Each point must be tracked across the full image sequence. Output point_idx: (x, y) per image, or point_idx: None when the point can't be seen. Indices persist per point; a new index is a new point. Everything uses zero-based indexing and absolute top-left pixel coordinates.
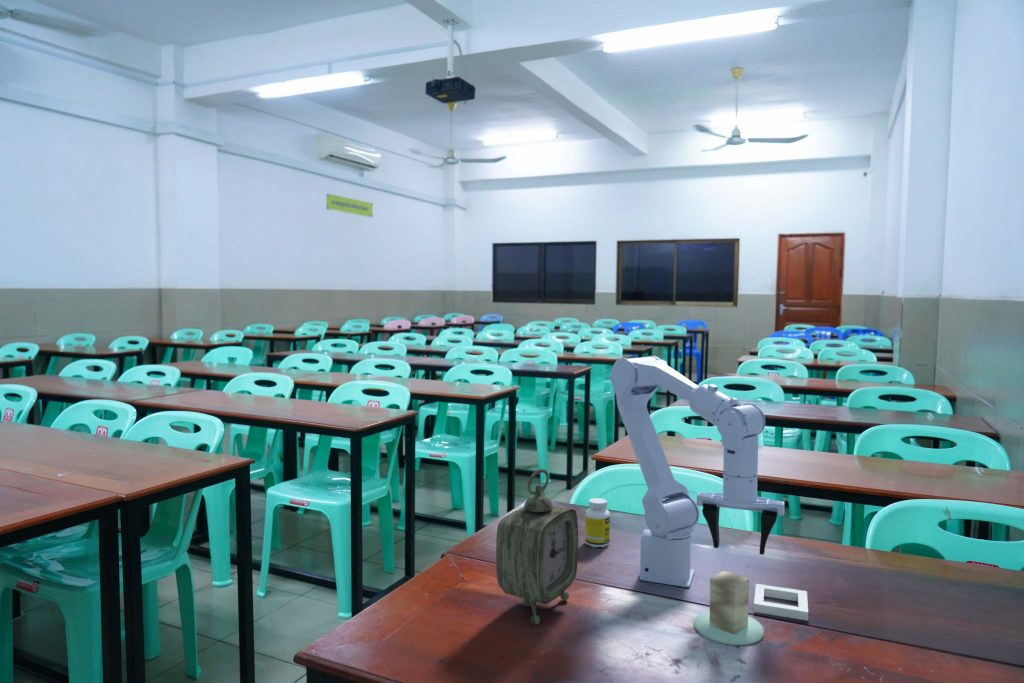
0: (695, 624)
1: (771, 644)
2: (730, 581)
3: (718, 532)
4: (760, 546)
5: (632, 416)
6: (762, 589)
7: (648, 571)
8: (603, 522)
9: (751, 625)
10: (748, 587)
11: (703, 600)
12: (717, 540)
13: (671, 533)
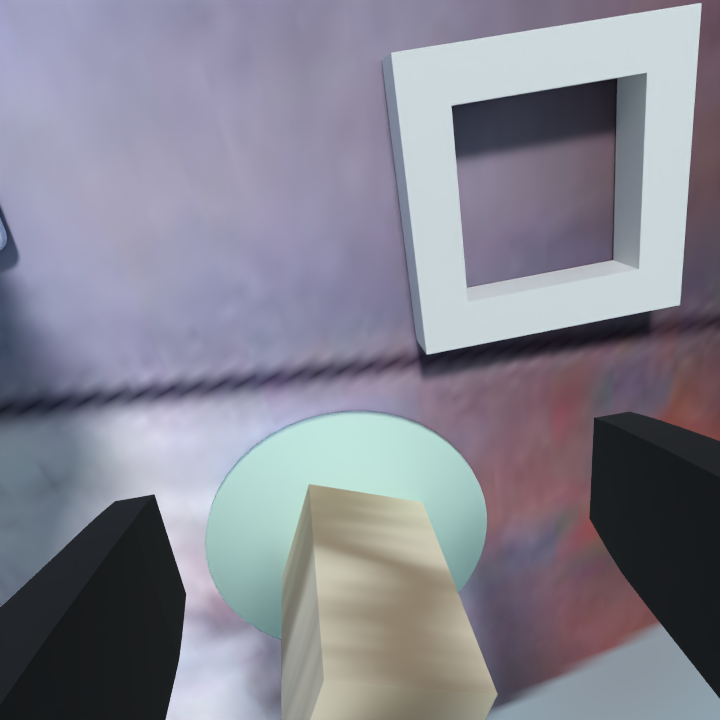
0: (231, 605)
1: (515, 552)
2: None
3: (106, 630)
4: (647, 597)
5: None
6: (443, 134)
7: None
8: None
9: (435, 496)
10: (476, 648)
11: (156, 348)
12: (168, 680)
13: None
